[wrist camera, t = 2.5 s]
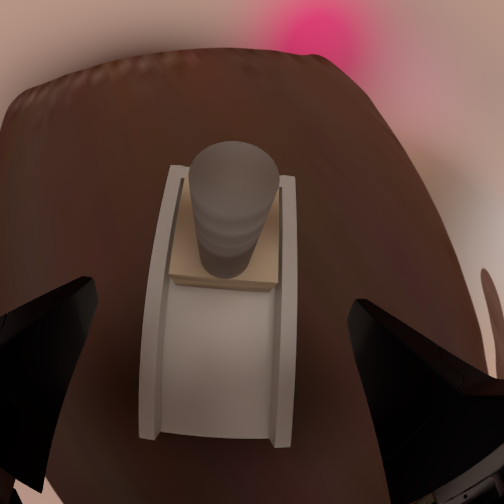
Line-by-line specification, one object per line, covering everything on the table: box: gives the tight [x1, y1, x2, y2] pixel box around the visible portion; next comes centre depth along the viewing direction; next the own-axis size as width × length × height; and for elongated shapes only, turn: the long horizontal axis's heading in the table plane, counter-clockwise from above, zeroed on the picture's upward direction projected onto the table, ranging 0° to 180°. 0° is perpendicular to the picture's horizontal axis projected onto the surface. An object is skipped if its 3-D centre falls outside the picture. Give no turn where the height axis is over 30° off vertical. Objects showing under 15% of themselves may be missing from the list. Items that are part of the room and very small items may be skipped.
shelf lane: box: [139, 165, 297, 448], centre depth 18 cm, size 19×10×3 cm, turn 178°
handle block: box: [169, 141, 280, 293], centre depth 14 cm, size 7×6×11 cm
